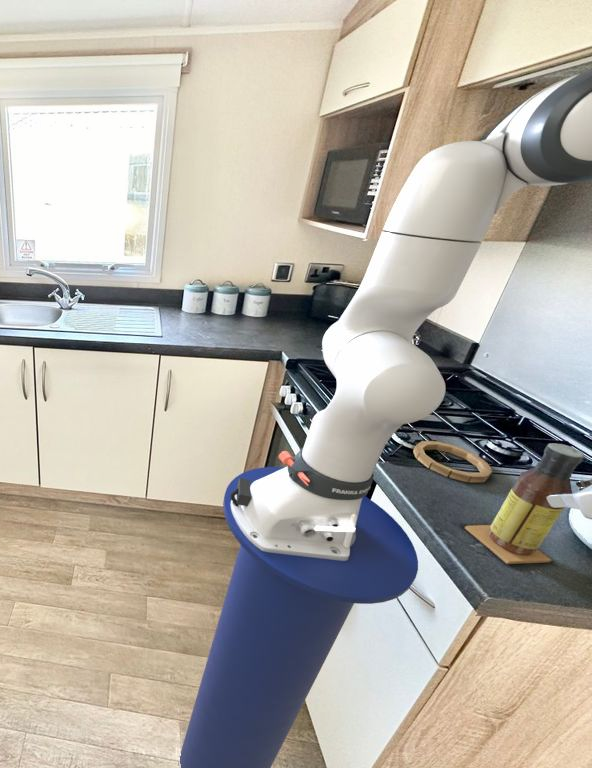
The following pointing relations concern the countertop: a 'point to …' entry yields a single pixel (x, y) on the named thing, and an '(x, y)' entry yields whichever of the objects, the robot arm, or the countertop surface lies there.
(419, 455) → the birch ring
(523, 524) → the sauce bottle
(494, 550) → the cork coaster
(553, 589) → the countertop surface
